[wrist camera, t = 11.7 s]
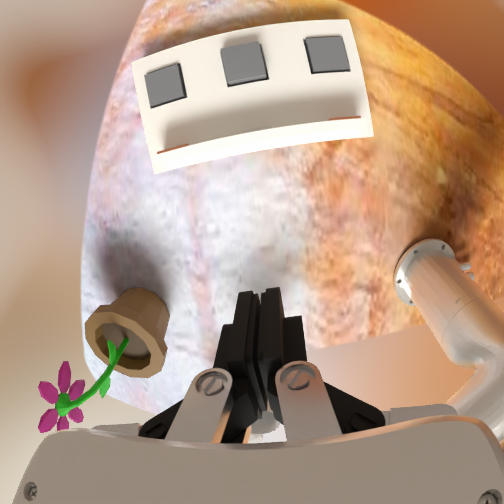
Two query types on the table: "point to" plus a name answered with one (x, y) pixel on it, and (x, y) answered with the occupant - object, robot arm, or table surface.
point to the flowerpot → (112, 352)
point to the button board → (253, 97)
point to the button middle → (243, 63)
